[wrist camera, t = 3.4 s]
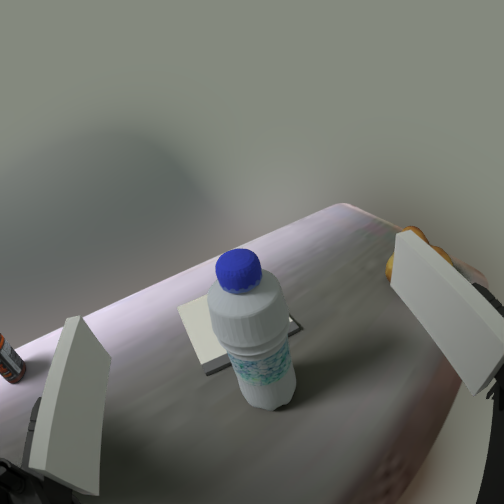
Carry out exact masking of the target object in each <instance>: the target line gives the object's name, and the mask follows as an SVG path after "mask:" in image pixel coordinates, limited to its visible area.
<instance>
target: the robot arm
mask: <svg viewBox="0 0 504 504" xmlns="http://www.w3.org/2000/svg"><path fill="white" fill-rule="evenodd" d="M390 286H391V287H392V288H393V289H394V290H395V292H396V293H397V294H398V295H399V297H400V298H401V299H402V300H403V301H404V303H405V304H406V305H407V306H408V308H409V309H410V310H411V311H412V313H413V314H414V315H415V316H416V318H417V319H418V320H419V322H420V323H421V324H422V325H423V327H424V328H425V329H426V331H427V332H428V333H429V335H430V336H431V337H432V339H433V340H434V341H435V343H436V344H437V345H438V347H439V348H440V349H441V351H442V352H443V354H444V355H445V356H446V358H447V359H448V360H449V362H450V363H451V365H452V366H453V368H454V369H455V370H456V372H457V373H458V375H459V376H460V378H461V379H462V381H463V382H464V384H465V385H466V386H467V388H468V389H469V391H470V393H471V394H472V396H475V395H476V394H478V393H479V392H480V391H482V390H483V389H484V388H486V387H487V386H488V385H489V383H490V382H491V381H492V379H493V378H495V379H496V383H495V384H494V385H493V387H492V388H491V389H490V391H489V392H488V393H487V397H486V399H489V398H490V396H491V395H492V394H493V393H494V395H493V397H492V399H493V400H494V405H493V417H492V426H491V435H490V442H489V448H488V454H487V460H486V465H485V470H484V474H483V479H482V483H481V487H480V491H479V494H478V498H477V502H476V504H504V306H502V304H501V303H500V302H499V301H498V300H496V299H495V297H494V296H493V295H492V294H491V293H490V292H489V291H488V290H487V289H486V288H485V287H483V286H481V285H479V284H477V283H473V284H470V283H469V282H468V281H467V280H466V279H465V278H464V277H463V276H462V275H461V274H460V273H459V272H458V271H457V270H456V269H455V268H454V267H453V266H451V265H450V264H449V263H448V262H447V261H446V260H445V259H444V258H443V257H442V256H440V255H439V254H438V253H437V252H436V251H435V250H434V249H433V248H431V247H430V246H429V245H428V244H427V243H426V242H424V241H423V240H422V239H421V238H420V237H419V236H417V235H416V234H415V233H414V232H413V231H411V230H407V231H404V232H400V233H397V234H396V241H395V251H394V260H393V269H392V276H391V284H390ZM110 364H111V357H110V355H109V354H108V353H107V351H106V350H105V349H104V348H103V346H102V345H101V344H100V342H99V341H98V339H97V338H96V337H95V335H94V334H93V333H92V331H91V330H90V328H89V327H88V325H87V324H86V323H85V321H84V320H83V318H82V317H81V315H80V316H76V317H71V318H67V319H66V322H65V325H64V327H63V330H62V333H61V336H60V339H59V342H58V344H57V347H56V350H55V354H54V357H53V360H52V363H51V366H50V370H49V373H48V377H47V380H46V384H45V387H44V391H43V395H42V397H39V398H38V400H37V401H36V403H35V405H34V407H33V409H32V413H31V417H30V422H29V426H28V432H27V436H26V442H25V447H24V453H23V460H22V465H21V468H19V467H18V466H16V465H14V464H13V463H11V462H9V461H8V460H6V459H5V458H0V504H80V502H79V501H78V499H77V498H76V497H75V496H74V495H72V490H74V491H77V492H79V493H81V494H86V495H94V496H99V472H100V451H101V437H102V425H103V415H104V407H105V398H106V391H107V383H108V377H109V370H110Z"/></svg>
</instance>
